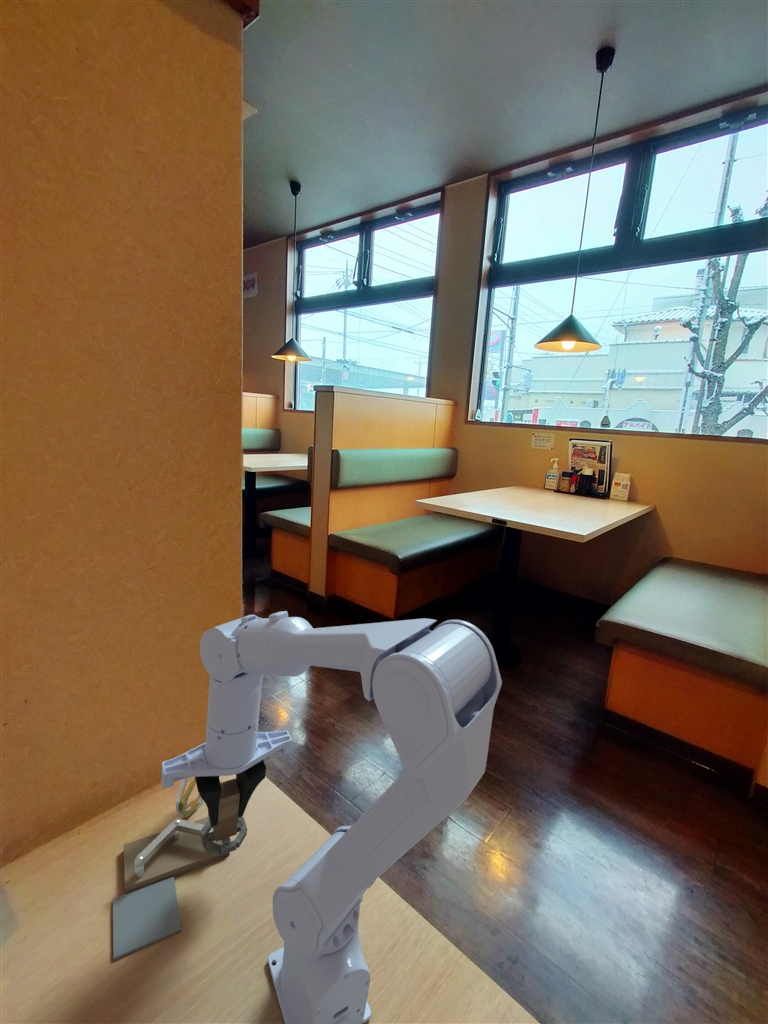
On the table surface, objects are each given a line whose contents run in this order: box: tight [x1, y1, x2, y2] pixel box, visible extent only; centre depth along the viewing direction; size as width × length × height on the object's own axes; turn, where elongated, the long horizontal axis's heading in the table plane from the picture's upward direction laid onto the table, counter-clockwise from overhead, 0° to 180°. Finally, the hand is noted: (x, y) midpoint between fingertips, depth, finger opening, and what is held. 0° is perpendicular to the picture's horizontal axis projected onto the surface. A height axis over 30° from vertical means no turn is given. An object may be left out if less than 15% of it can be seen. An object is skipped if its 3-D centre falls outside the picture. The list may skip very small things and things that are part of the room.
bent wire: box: [134, 818, 221, 879], centre depth 59 cm, size 5×10×4 cm, turn 121°
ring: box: [175, 777, 204, 818], centre depth 65 cm, size 7×3×8 cm, turn 162°
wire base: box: [123, 816, 231, 895], centre depth 59 cm, size 6×12×1 cm, turn 121°
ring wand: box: [201, 778, 248, 855], centre depth 55 cm, size 5×5×7 cm
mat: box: [112, 876, 182, 961], centre depth 52 cm, size 6×6×1 cm
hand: (225, 814), depth 55 cm, fingers closed on ring wand, 2 cm apart
